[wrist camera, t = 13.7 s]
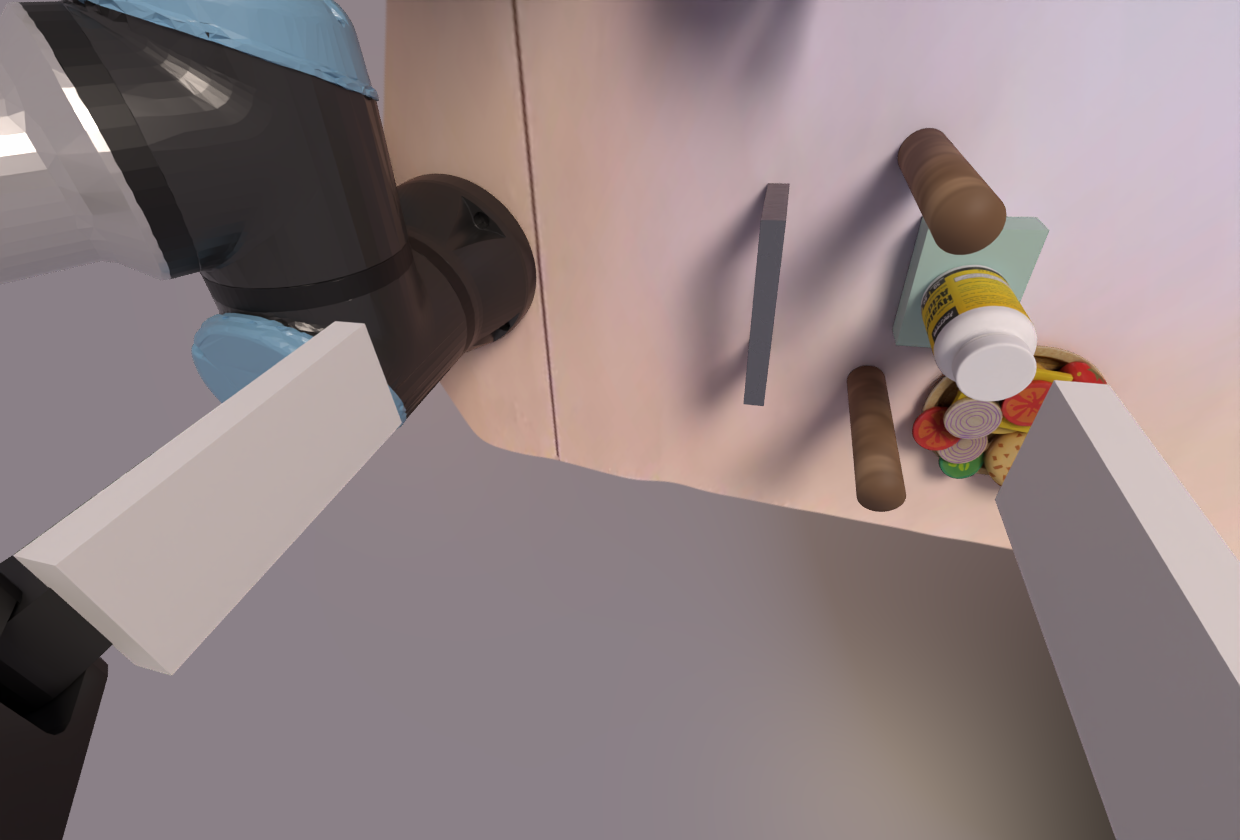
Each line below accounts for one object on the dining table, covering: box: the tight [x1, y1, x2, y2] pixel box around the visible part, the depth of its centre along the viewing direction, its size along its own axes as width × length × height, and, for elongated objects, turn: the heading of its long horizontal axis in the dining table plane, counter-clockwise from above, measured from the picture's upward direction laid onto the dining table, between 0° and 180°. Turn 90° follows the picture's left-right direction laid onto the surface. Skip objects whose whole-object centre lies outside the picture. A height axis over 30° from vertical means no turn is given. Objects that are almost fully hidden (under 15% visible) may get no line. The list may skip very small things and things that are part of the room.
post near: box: [898, 128, 1006, 255], centre depth 32 cm, size 3×3×14 cm
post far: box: [847, 366, 906, 512], centre depth 43 cm, size 3×3×14 cm
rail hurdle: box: [744, 184, 789, 406], centre depth 42 cm, size 2×14×8 cm, turn 4°
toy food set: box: [912, 346, 1107, 486], centre depth 45 cm, size 13×13×3 cm
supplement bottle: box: [921, 265, 1037, 401], centre depth 36 cm, size 5×5×10 cm
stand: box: [892, 217, 1049, 348], centre depth 40 cm, size 7×9×2 cm
